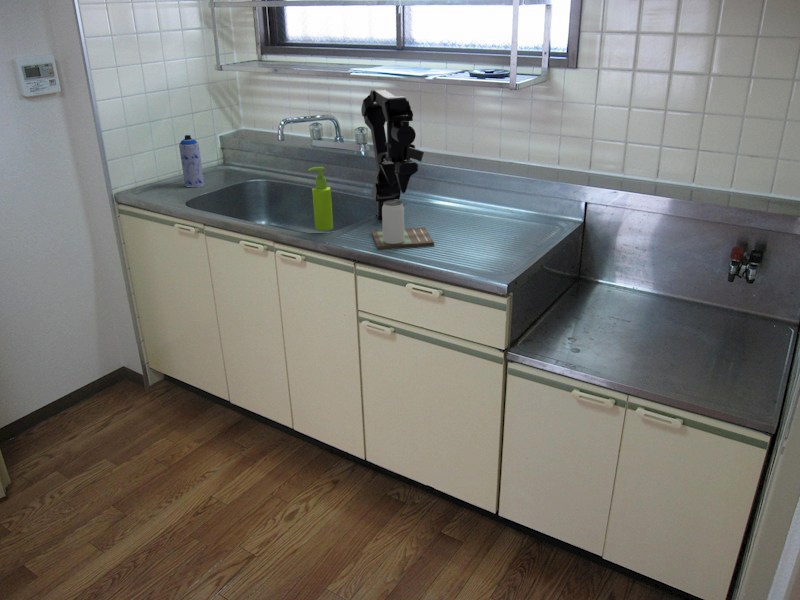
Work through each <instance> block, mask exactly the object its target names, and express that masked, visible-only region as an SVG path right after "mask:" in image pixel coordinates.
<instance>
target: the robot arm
mask: <svg viewBox="0 0 800 600" xmlns="http://www.w3.org/2000/svg"><path fill="white" fill-rule="evenodd" d="M360 110H361V115H362V117H363V119H364V124H365V125H366V126H367V127H368V128H369V130H370V132H371V138H372V139H371V140H372V144H373V145H372V146H373V152H374V157H375V165H376V171H377V173H376V176H375V178H374V182H373V185H372V186H373V187H372V190H371V198H372V200H373V201H374V202H377V212H375V216H376V215H378V216H376V218H377V220H382V207H383V205H384V204H383V202H385V201H388V200H400V199H401V194H405V193H406V192H407V188H408V185H409V181H410V179H411V177H412V176H413V175H414V174H416V173H417V172H419V164H418V163H417V162H416V161H418V162H422V160H423V157H424V153H425V151H422V150H421V149H417V148H416V145H415V144H413V143H414V141H415V139H416V137H417V136H416V133H417V132H416V131H415V129H414V127H413V126H411V125H410V122H413V121H414V120H413V119H414V118H413V117H414V112H413V109H412V107H411V103H410V101H409V100H408V99H407V97H406V96H405V95H403V96H402V95H401V96H400V95H398V96H397V95H394V94H393V93H391V92H389V91H388V89H385V88H375V89H374V88H373V89H371V90H370V92H369V95H368V96H366V97H365V98H364V99H363V100H362V103H361V109H360ZM385 125H386V130H385ZM412 159H413V160H416V161H413V160H412Z"/></svg>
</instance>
